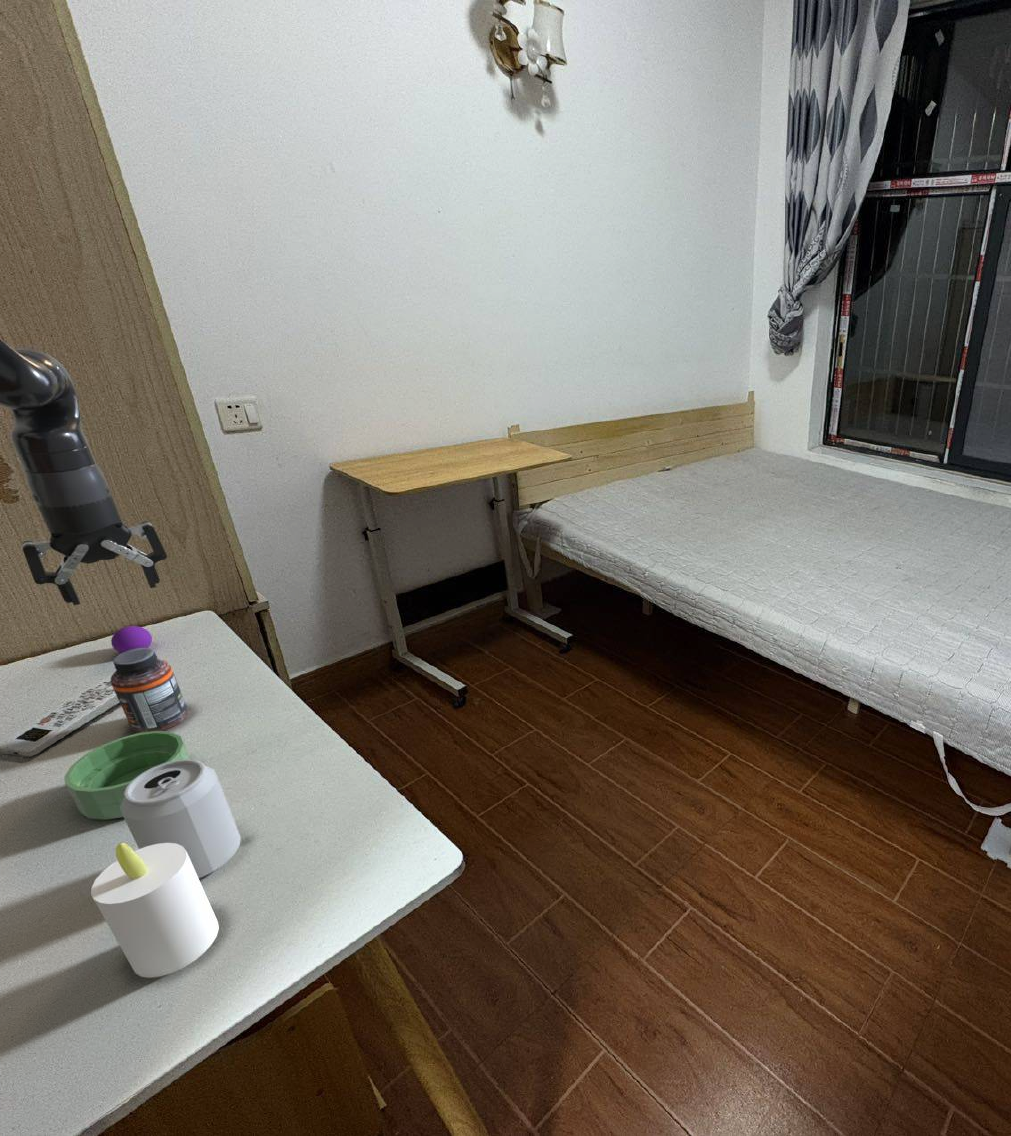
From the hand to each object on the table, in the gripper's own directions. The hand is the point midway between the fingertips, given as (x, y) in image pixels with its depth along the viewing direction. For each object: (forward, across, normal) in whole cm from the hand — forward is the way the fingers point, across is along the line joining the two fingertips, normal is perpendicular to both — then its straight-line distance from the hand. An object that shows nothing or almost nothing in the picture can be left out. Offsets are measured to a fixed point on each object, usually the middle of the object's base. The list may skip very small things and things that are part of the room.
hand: (115, 594), depth 96 cm
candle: (+11, +5, +64) cm, 65 cm away
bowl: (+11, +4, +37) cm, 39 cm away
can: (+11, +1, +54) cm, 55 cm away
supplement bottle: (+11, 0, +23) cm, 26 cm away
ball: (+8, 0, 0) cm, 8 cm away
